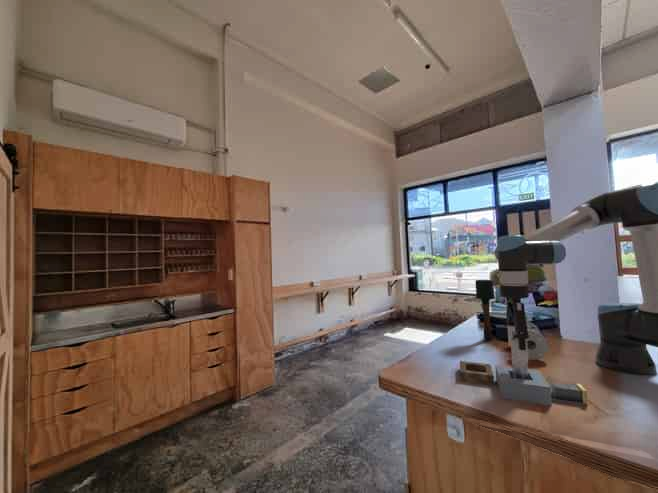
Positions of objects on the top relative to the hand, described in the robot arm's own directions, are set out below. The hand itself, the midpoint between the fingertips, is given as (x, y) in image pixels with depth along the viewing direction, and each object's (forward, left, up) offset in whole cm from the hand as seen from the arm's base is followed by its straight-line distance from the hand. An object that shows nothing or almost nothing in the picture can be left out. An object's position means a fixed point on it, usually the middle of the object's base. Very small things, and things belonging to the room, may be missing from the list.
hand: (517, 352), depth 84 cm
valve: (-10, -44, -13) cm, 47 cm away
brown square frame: (+12, -7, -13) cm, 19 cm away
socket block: (-4, 0, -13) cm, 14 cm away
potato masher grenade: (+4, -56, -13) cm, 58 cm away
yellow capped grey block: (-12, 0, -13) cm, 17 cm away
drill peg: (0, 0, -12) cm, 12 cm away
